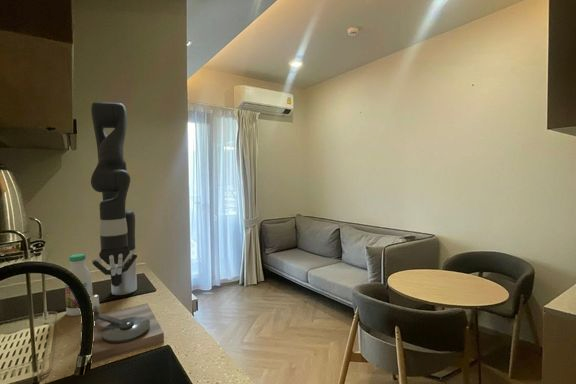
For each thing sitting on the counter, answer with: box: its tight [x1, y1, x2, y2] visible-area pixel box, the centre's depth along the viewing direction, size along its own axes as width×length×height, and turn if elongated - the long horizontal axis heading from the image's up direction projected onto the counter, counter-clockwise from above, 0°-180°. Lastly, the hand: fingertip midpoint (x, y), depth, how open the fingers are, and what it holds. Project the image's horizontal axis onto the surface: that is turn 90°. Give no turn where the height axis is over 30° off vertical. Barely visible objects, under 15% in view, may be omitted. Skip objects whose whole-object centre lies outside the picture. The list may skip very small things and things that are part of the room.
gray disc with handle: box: [90, 294, 150, 343], centre depth 87 cm, size 22×12×8 cm, turn 63°
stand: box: [92, 303, 165, 364], centre depth 89 cm, size 24×18×4 cm
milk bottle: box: [64, 253, 94, 317], centre depth 104 cm, size 8×8×20 cm
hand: (116, 285), depth 96 cm, fingers closed
